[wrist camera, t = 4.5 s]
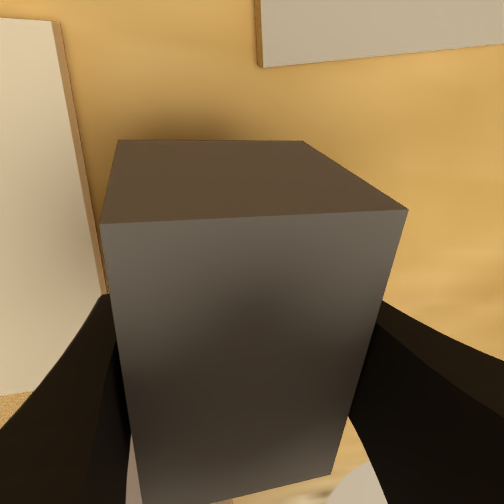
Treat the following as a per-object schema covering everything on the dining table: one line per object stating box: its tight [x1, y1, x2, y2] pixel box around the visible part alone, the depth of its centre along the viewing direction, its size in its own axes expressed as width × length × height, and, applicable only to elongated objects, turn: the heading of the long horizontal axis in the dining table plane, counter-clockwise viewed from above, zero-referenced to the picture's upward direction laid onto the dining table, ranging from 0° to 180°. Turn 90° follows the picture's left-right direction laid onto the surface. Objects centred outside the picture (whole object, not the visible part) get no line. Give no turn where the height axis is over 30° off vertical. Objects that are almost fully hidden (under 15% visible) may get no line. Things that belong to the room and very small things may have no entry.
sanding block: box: [99, 140, 409, 504], centre depth 10 cm, size 8×5×5 cm, turn 176°
